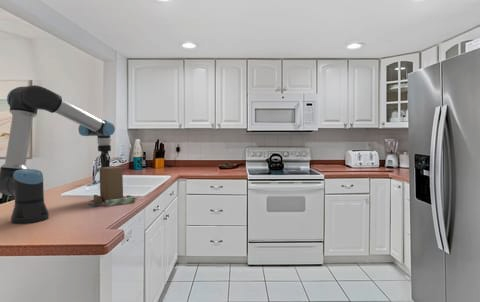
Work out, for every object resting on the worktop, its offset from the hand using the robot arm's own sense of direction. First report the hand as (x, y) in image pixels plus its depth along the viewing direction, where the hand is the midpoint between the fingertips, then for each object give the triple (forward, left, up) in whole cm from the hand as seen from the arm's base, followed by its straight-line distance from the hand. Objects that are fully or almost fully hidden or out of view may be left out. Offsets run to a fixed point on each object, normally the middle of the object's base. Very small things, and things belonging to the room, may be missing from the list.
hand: (106, 182), depth 214 cm
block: (0, -11, -10) cm, 15 cm away
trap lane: (0, -15, -10) cm, 18 cm away
